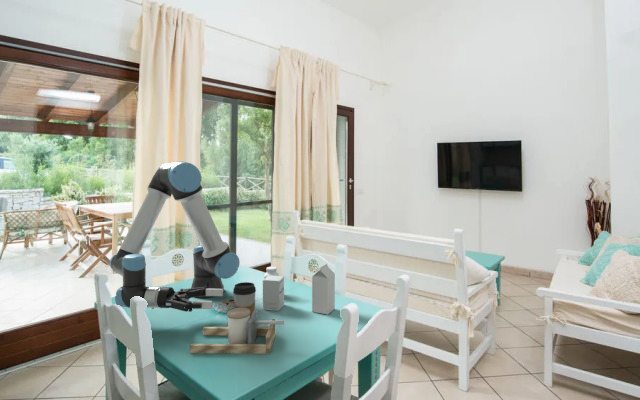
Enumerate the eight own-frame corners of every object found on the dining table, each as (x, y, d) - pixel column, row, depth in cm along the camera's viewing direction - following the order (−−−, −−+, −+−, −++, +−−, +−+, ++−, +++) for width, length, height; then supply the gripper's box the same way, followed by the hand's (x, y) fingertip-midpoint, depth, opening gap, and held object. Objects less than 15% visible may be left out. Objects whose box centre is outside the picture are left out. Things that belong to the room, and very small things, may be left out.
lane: (189, 353, 110) (189, 336, 110) (204, 333, 124) (203, 318, 123) (269, 353, 110) (269, 336, 110) (275, 334, 123) (275, 318, 123)
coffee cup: (235, 320, 135) (234, 282, 134) (257, 319, 136) (256, 281, 135) (231, 329, 127) (231, 289, 126) (255, 328, 127) (254, 288, 126)
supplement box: (279, 311, 144) (279, 281, 143) (262, 309, 145) (262, 280, 144) (284, 304, 151) (284, 275, 150) (268, 303, 153) (268, 274, 152)
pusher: (247, 350, 111) (247, 322, 111) (254, 335, 122) (253, 310, 121) (282, 350, 111) (282, 323, 111) (285, 335, 122) (285, 310, 121)
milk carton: (334, 308, 146) (335, 264, 145) (327, 315, 140) (328, 268, 139) (319, 306, 149) (319, 262, 148) (312, 312, 143) (312, 266, 142)
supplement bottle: (267, 298, 159) (266, 270, 158) (262, 293, 165) (262, 267, 164) (280, 295, 162) (280, 268, 161) (275, 291, 168) (275, 265, 167)
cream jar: (223, 346, 115) (222, 314, 114) (236, 336, 121) (235, 306, 121) (242, 350, 112) (242, 317, 111) (254, 340, 119) (254, 309, 118)
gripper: (174, 296, 143) (226, 297, 143) (143, 320, 118) (206, 322, 118) (174, 277, 142) (226, 278, 142) (143, 299, 118) (206, 300, 117)
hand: (217, 298), depth 130 cm, fingers open, 13 cm apart
